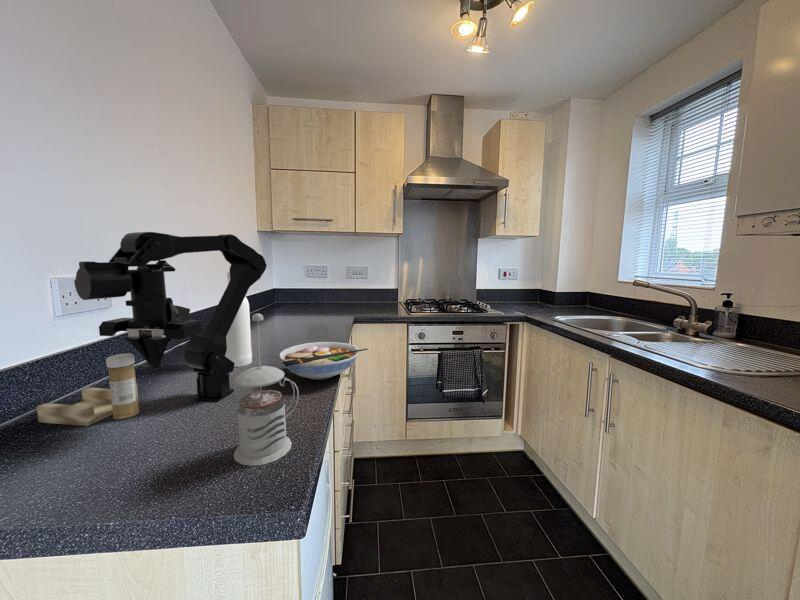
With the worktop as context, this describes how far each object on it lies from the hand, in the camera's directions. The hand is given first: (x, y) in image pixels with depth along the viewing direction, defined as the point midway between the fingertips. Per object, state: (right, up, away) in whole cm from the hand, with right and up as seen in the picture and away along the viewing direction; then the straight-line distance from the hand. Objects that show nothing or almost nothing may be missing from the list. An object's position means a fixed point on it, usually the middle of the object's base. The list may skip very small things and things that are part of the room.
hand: (155, 367), depth 68 cm
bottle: (-1, -7, +37) cm, 38 cm away
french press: (+27, -13, -9) cm, 32 cm away
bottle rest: (-17, -11, +3) cm, 21 cm away
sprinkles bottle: (-8, -11, +2) cm, 14 cm away
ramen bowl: (+28, -8, +27) cm, 40 cm away
